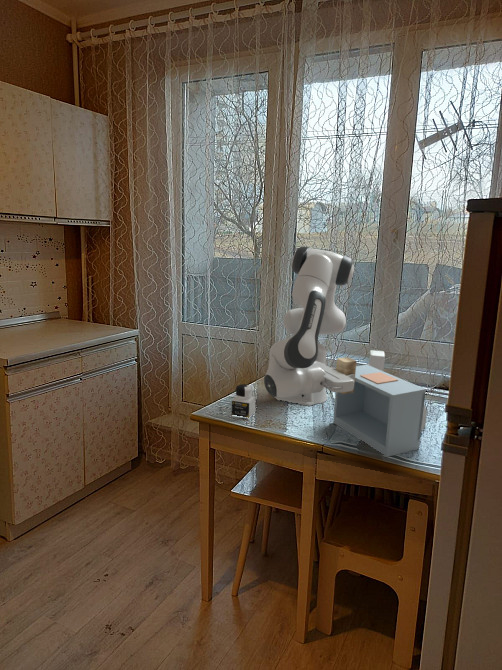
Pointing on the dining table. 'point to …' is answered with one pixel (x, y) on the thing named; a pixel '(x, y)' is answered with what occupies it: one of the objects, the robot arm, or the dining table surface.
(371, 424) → the cubby
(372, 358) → the skincare box
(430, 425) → the dining table surface
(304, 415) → the dining table surface
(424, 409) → the tea bag
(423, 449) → the dining table surface
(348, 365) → the oak block
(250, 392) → the medicine bottle
